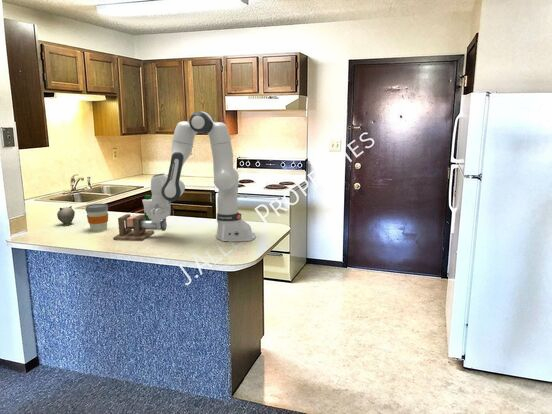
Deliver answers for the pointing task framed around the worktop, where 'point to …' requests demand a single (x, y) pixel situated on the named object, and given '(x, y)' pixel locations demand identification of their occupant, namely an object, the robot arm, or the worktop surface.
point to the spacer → (130, 220)
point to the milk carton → (147, 207)
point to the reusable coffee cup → (97, 216)
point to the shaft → (150, 225)
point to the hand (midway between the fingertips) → (161, 226)
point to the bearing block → (132, 234)
